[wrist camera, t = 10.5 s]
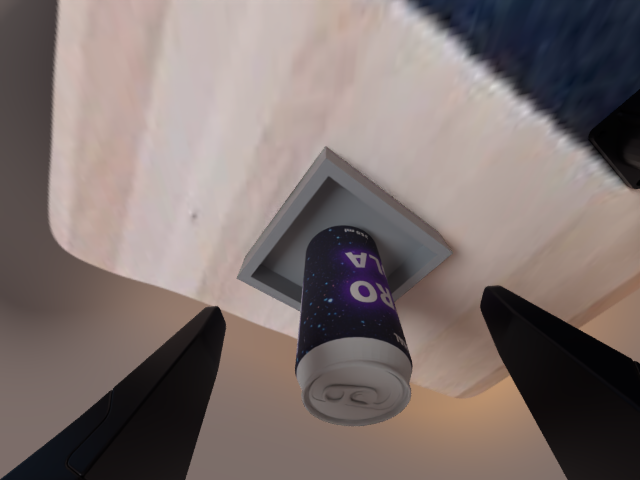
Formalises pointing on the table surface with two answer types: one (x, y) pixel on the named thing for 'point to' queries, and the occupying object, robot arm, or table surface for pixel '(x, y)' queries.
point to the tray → (333, 210)
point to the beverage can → (350, 333)
